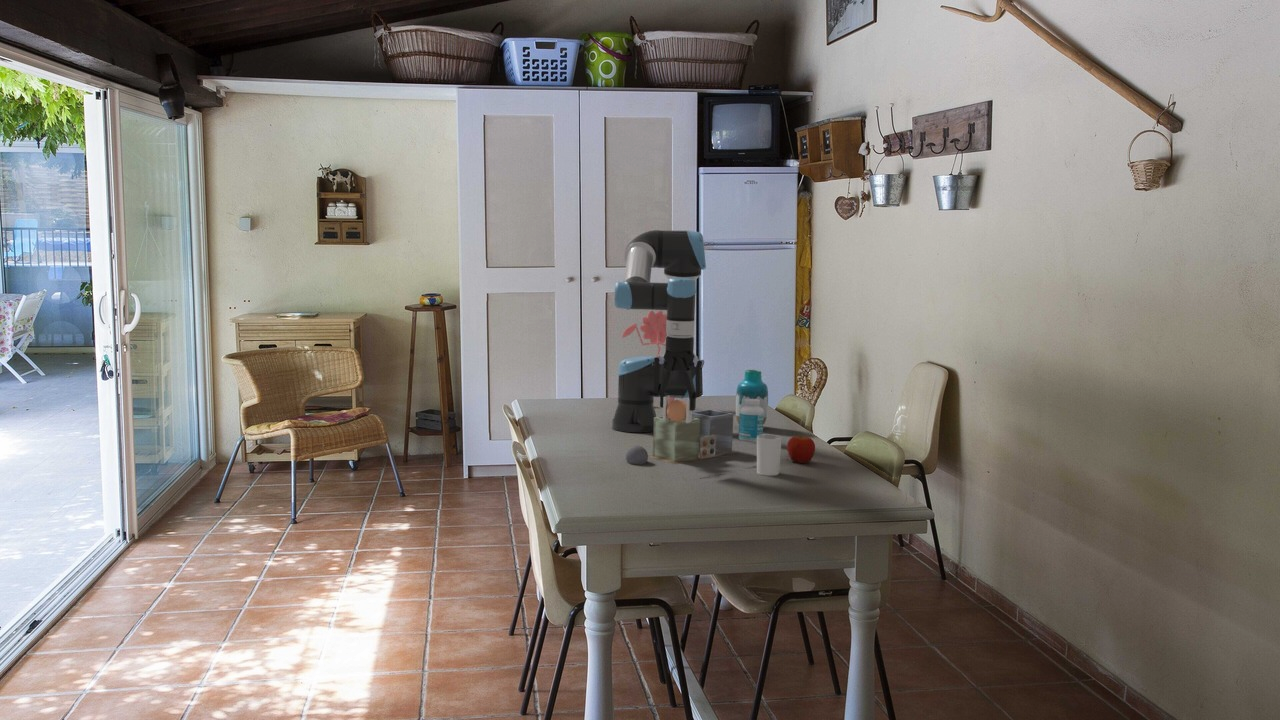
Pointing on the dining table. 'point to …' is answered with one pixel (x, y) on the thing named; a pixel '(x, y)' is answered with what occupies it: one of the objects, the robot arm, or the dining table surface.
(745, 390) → the vase
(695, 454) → the rack
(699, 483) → the dining table surface
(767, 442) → the drinking glass
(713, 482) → the dining table surface
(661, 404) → the robot arm
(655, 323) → the pink flower drawing
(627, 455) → the loose charcoal ball
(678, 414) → the loose terracotta ball
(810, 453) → the apple
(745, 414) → the pill bottle
